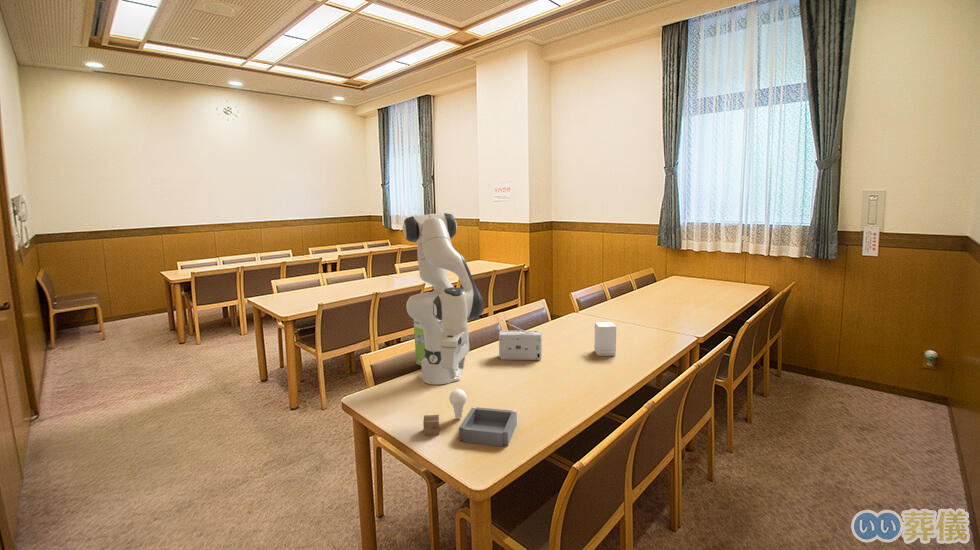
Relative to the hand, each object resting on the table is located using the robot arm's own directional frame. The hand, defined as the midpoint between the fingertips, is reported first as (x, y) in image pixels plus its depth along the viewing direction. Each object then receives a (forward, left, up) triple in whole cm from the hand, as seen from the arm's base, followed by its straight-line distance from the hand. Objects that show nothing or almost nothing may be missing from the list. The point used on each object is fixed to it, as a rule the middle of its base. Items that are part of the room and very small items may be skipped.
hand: (457, 373), depth 164 cm
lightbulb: (0, 0, -18) cm, 18 cm away
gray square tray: (+7, +13, -17) cm, 23 cm away
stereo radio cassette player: (-67, +10, -18) cm, 70 cm away
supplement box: (-82, +50, -18) cm, 98 cm away
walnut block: (+11, -6, -17) cm, 21 cm away
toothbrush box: (-53, -28, -17) cm, 62 cm away
